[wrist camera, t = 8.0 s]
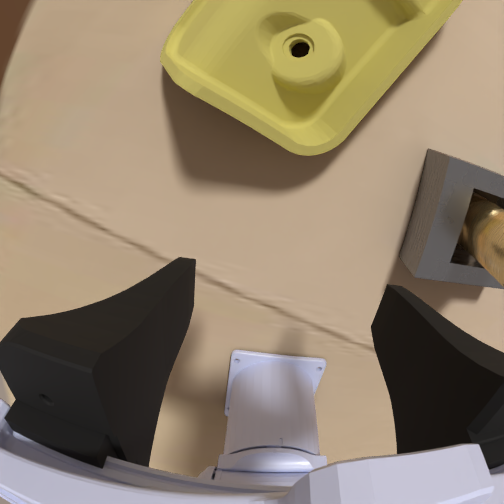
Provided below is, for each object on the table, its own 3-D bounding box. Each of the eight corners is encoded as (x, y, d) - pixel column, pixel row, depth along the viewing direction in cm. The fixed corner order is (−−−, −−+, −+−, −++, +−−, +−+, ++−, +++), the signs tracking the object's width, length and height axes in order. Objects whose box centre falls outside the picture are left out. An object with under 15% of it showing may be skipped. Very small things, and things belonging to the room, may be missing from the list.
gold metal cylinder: (473, 248, 21) (522, 295, 14) (438, 233, 20) (488, 282, 14) (493, 202, 19) (550, 239, 13) (459, 184, 19) (518, 218, 12)
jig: (492, 271, 22) (510, 289, 19) (399, 256, 21) (414, 277, 19) (521, 183, 18) (544, 194, 15) (428, 148, 18) (450, 156, 15)
